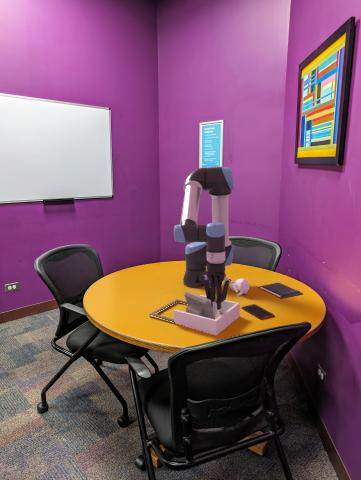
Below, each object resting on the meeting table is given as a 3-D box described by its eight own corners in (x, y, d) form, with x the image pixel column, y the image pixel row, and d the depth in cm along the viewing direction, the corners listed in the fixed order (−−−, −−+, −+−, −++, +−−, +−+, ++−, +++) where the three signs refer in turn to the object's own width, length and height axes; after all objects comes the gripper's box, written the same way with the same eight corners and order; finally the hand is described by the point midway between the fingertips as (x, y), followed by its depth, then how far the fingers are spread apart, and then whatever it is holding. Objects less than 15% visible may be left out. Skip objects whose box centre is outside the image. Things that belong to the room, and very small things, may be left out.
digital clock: (217, 323, 143) (217, 299, 141) (198, 328, 139) (198, 303, 137) (199, 309, 157) (199, 287, 155) (181, 313, 153) (181, 291, 151)
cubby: (174, 323, 143) (173, 310, 142) (200, 306, 160) (200, 294, 159) (215, 335, 132) (215, 321, 131) (239, 316, 149) (239, 303, 148)
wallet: (304, 291, 172) (280, 296, 166) (304, 295, 172) (280, 300, 167) (279, 280, 190) (256, 284, 185) (279, 284, 191) (256, 288, 185)
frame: (149, 316, 151) (149, 314, 151) (177, 301, 168) (177, 299, 168) (173, 323, 144) (173, 320, 144) (199, 306, 161) (199, 304, 160)
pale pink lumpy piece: (240, 280, 169) (226, 276, 180) (241, 297, 170) (227, 292, 181) (250, 278, 172) (235, 274, 182) (251, 294, 173) (236, 290, 183)
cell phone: (254, 305, 161) (254, 303, 160) (275, 317, 148) (275, 315, 147) (240, 308, 158) (240, 307, 157) (261, 321, 144) (261, 319, 144)
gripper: (197, 261, 139) (197, 315, 143) (226, 265, 132) (226, 322, 136) (206, 257, 145) (207, 309, 150) (235, 261, 138) (234, 316, 142)
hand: (216, 315), depth 143 cm, fingers closed
